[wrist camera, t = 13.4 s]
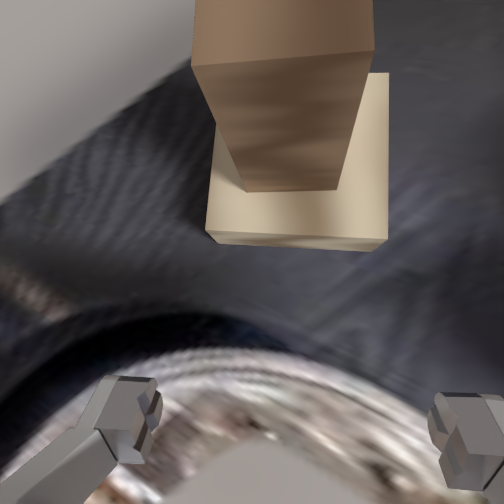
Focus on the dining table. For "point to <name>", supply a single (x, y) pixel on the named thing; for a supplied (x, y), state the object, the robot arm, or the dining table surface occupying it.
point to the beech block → (312, 193)
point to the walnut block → (284, 85)
